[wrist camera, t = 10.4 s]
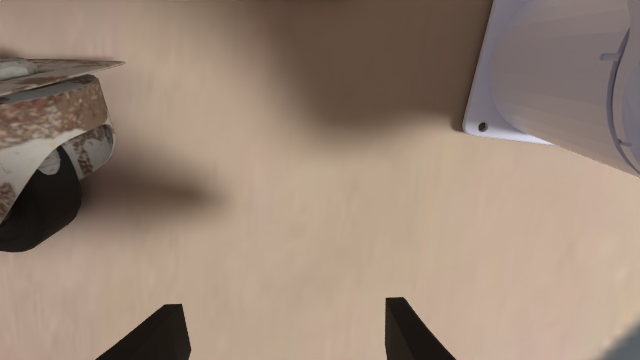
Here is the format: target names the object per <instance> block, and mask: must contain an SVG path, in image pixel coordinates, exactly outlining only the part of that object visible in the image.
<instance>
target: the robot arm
mask: <svg viewBox="0 0 640 360" xmlns="http://www.w3.org/2000/svg"><path fill="white" fill-rule="evenodd" d="M482 122H484V123H485V128H484V129H483V130H481V131H479V130H478V126H479V124H481V123H482ZM462 128H463V131H464V132H465V133H467V134H469V135H474V136H482V137H490V138H498V139H506V140H514V141H522V142H530V143H538V144H546V145H554V146H560V147H562V148H565V149H567V150H570V151H573V152H575V153H578V154H580V155H583V156H585V157H588V158H591V159H593V160H596V161H598V162H601V163H603V164H606V165H609V166H611V167H614V168H616V169H619V170H621V171H624V172H627V173H629V174H632V175H634V176H637V177H640V0H494V1H493V5H492V9H491V12H490V16H489V20H488V24H487V28H486V32H485V36H484V40H483V44H482V48H481V52H480V56H479V60H478V64H477V68H476V72H475V76H474V80H473V84H472V88H471V91H470V95H469V99H468V103H467V107H466V111H465V115H464V119H463V123H462ZM385 348H386V354H387V360H456V359H455V358H454V357H453V356H452V355H451V354H450V353H449V352H448V351H447V350H446V348H445V347H444V346H443V345H442V344H441V343H440V342H439V341H438V340H437V338H436V337H435V336H434V335H433V334H432V333H431V332H430V330H429V329H428V328H427V327H426V326H425V324H424V323H423V322H422V321H421V319H420V318H419V317H418V315H417V314H416V313H415V311H414V310H413V309H412V307H411V306H410V305H409V303H408V302H407V300H406V299H405V298H404V297H396V298H386V312H385ZM190 353H191V346H190V341H189V336H188V331H187V327H186V322H185V317H184V312H183V307H182V304H165V305H164V306H162V307H161V308H160V309H158V310H157V311H156V312H155V313H153V314H152V315H151V316H150V317H148V318H147V319H146V320H145V321H144V322H142V323H141V324H140V325H139V326H137V327H136V328H135V329H134V330H133V331H131V332H130V333H129V334H128V335H126V336H125V337H124V338H123V339H121V340H120V341H119V342H118V343H116V344H115V345H114V346H113V347H111V348H110V349H109V350H107V351H106V352H105V353H103V354H102V355H101V356H99V357H98V358H97V359H95V360H188V359H189V356H190Z"/></svg>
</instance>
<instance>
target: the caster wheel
mask: <svg viewBox="0 0 640 360" xmlns="http://www.w3.org/2000/svg"><path fill="white" fill-rule="evenodd" d="M125 63H126V62H121V61H79V60H37V59H23V58H6V59H0V251H5V252H23V251H27V250H30V249H32V248H34V247H36V246H37V245H38V244H40V243H41V242H43V241H44V240H46V239H47V238H49V237H50V236H52V235H53V234H55V233H56V232H58V231H59V230H60V229H62V228H63V227H65V226H66V225H68V224H69V223H70V222H71V221H72V220H73V219H74V218H75V217H76V215H77V213H78V210H79V208H80V204H81V189H80V182H79V180H81V179H83V178H85V177H87V176H89V175H90V174H92V173H94V172H95V171H96V170H98V169H99V168H100V167H101V166H103V165H104V164H105V163H106V162H107V161H108V160H109V158H110V157H111V155H112V153H113V151H114V148H115V142H116V139H115V133H114V129H113V126H112V123H111V119H110V116H109V113H108V109H107V106H106V103H105V100H104V96H103V93H102V90H101V86H100V83H99V80H98V78H96V77H95V76H94V75H89V73H93V72H97V71H101V70H104V69H108V68H112V67H116V66H120V65H123V64H125Z"/></svg>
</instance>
